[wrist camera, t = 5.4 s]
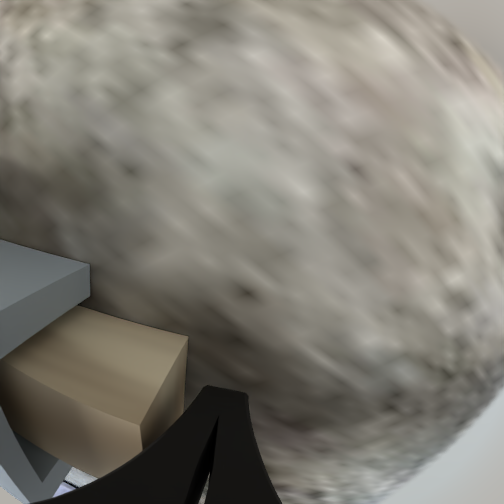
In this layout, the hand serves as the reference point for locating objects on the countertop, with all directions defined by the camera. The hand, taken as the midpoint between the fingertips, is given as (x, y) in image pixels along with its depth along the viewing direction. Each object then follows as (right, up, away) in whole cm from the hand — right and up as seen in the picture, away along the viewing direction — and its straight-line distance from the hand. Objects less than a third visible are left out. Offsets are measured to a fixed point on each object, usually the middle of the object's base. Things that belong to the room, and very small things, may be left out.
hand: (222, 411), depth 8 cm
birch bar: (-5, +1, +1) cm, 6 cm away
